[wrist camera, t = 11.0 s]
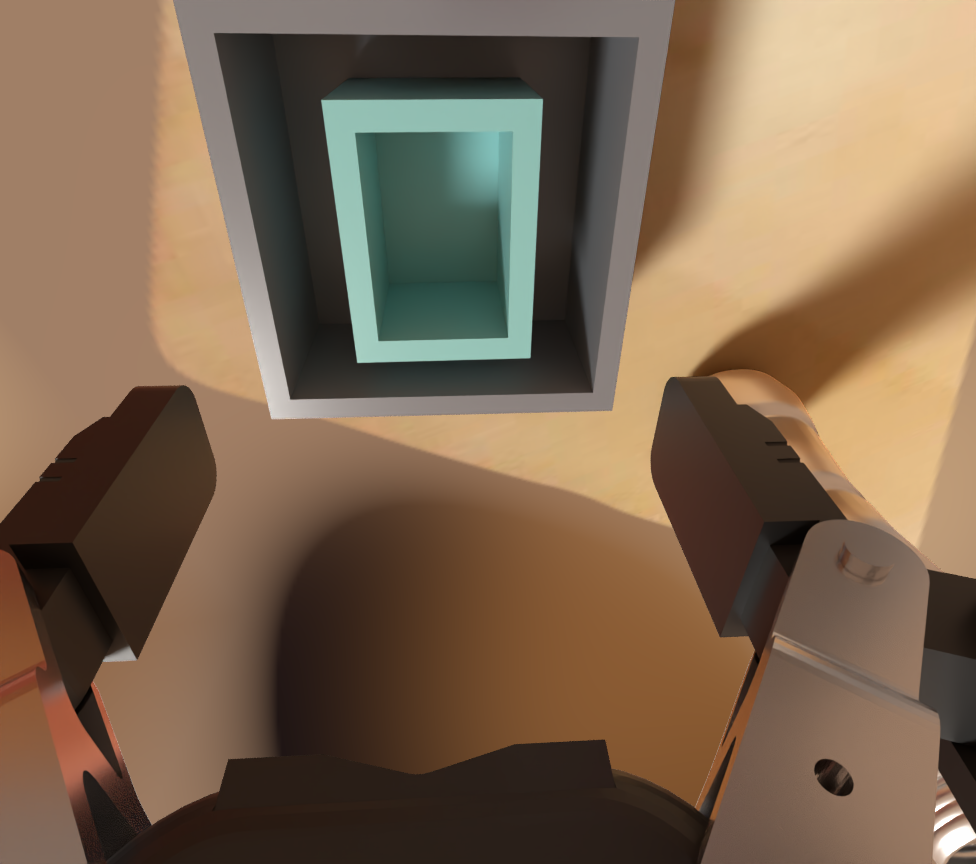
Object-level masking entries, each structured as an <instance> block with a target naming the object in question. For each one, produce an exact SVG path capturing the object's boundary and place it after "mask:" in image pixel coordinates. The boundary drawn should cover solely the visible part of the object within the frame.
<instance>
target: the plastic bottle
mask: <svg viewBox="0 0 976 864" xmlns="http://www.w3.org/2000/svg"><path fill="white" fill-rule="evenodd" d="M710 376H714V377H717V378H718V379H719V380H720V381H721V382H722V384H723V385H724V387H725V388H726V389H727V391H728V392H729V394H730V395H731V396H732V398H733V399H734V400H735V402H736V403H737V404H747V405H748V406H750V407H751V408H753V409H754V410H756V411H757V412H759V413H760V414H762V415H763V416H765V417H766V418H768V419H769V420H771V421H772V422H773V423H774V425H775V426H776V427H777V429H778V430H779V431H780V433H781V434H782V435H783V436H784V438H785V439H786V440H787V445H788V446H789V445H791V447H792V448H793V449H794V451H795V452H796V453H797V455H798V456H799V457H800V462H801V463H804V464H805V465H806V466H807V468H808V469H809V470H810V471H811V473H812V474H813V475H814V477H815V478H816V479H817V480H818V482H819V483H820V484H821V486H822V487H823V488H824V490H825V491H826V492H827V493H828V495H829V496H830V497H831V499H832V500H833V501H834V503H835V504H836V505H837V506H838V508H839V509H840V510H841V512H842V513H843V514H844V516H845V517H846V518H847V519H848V520H850V521H856V522H861V523H864V524H867V525H871V526H873V527H876V528H878V529H881V530H883V531H885V532H887V533H889V534H891V535H893V536H894V537H896V538H897V539H899V540H900V541H902V542H903V543H904V544H906V545H907V546H908V547H910V548H911V549H912V550H913V551H914V552H915V553H916V554H917V555H918V557H919V558H920V559H921V560H922V562H923V563H924V565H925V567H926V569H929V570H934V571H939V572H943V571H942V570H941V569H940V568H938V567H937V566H936V565H935V564H934V563H933V562H932V561H931V560H929V559H928V558H927V557H926V556H925V555H924V554H922V553H921V552H920V551H919V550H918V549H917V548H915V547H914V546H913V545H912V544H911V543H910V542H909V541H907V540H906V539H905V538H904V537H903V536H902V535H900V534H899V533H898V532H897V531H896V530H895V529H894V528H893V527H892V526H891V525H890V524H889V523H888V522H887V521H886V520H885V519H884V518H883V517H882V516H881V514H880V513H879V512H878V511H877V510H876V509H875V508H874V507H873V506H872V505H871V504H870V503H869V502H867V500H866V499H865V498H864V497H863V496H862V494H861V493H860V492H859V491H858V490H857V489H856V488H855V487H854V486H853V485H852V484H851V483H850V482H849V480H848V479H847V477H846V476H845V474H844V473H843V471H842V470H841V468H840V467H839V465H838V464H837V462H836V461H835V459H834V458H833V457H832V455H831V454H830V452H829V451H828V449H827V448H826V446H825V445H824V443H823V442H822V440H821V439H820V437H819V435H818V432H817V430H816V428H815V425H814V423H813V421H812V418H811V417H810V415H809V413H808V412H807V410H806V408H805V407H804V405H803V403H802V402H801V400H800V399H799V398H798V396H797V395H796V394H795V393H794V392H793V391H792V390H790V389H789V388H788V387H786V386H785V385H783V384H782V383H780V382H779V381H777V380H776V379H775V378H773V377H772V376H770V375H769V374H766V373H763V372H761V371H757V370H751V369H736V370H727V371H722V372H718V373H715V374H713V375H710ZM943 573H944V572H943ZM933 859H934V861H935V862H936V864H976V834H975V832H974V830H973V829H972V827H971V825H970V823H969V822H968V820H967V818H966V817H965V815H964V813H963V811H962V810H961V808H960V806H959V805H958V803H957V801H956V799H955V798H954V796H953V794H952V792H951V791H950V789H949V787H948V786H947V784H946V782H945V780H944V779H943V777H942V775H941V774H940V772H939V770H938V777H937V793H936V809H935V825H934V841H933Z"/></svg>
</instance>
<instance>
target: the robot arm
mask: <svg viewBox="0 0 976 864" xmlns="http://www.w3.org/2000/svg"><path fill="white" fill-rule="evenodd" d="M55 460H56V461H55V463H51V464H50V465H49V466H48V468H47V469H46V470H45V471H44V472H43V474H42V475H41V476H40V481H39V482H35V483H34V484H33V485H32V487H31V488H30V489H29V490H28V491H27V493H26V494H25V495H24V496H23V497H22V498H21V500H20V501H19V502H18V503H17V504H16V506H15V507H14V508H13V509H12V510H11V512H10V513H9V514H8V515H7V516H6V518H5V519H4V520H3V521H2V522H1V523H0V864H932V857H933V841H934V825H935V809H936V793H937V777H938V770H939V772H940V774H941V775H942V777H943V779H944V780H945V782H946V784H947V786H948V787H949V789H950V791H951V792H952V794H953V796H954V798H955V799H956V801H957V803H958V805H959V806H960V808H961V810H962V811H963V813H964V815H965V817H966V818H967V820H968V822H969V823H970V825H971V827H972V829H973V830H974V832H975V834H976V579H973V578H968V577H963V576H958V575H953V574H948V573H943V572H939V571H934V570H929V569H926V567H925V565H924V563H923V562H922V560H921V559H920V558H919V557H918V555H917V554H916V553H915V552H914V551H913V550H912V549H911V548H910V547H908V546H907V545H906V544H904V543H903V542H902V541H900V540H899V539H897V538H896V537H894V536H893V535H891V534H889V533H887V532H885V531H883V530H881V529H878V528H876V527H873V526H871V525H867V524H864V523H861V522H856V521H850V520H848V519H847V518H846V517H845V516H844V514H843V513H842V512H841V510H840V509H839V508H838V506H837V505H836V504H835V503H834V501H833V500H832V499H831V497H830V496H829V495H828V493H827V492H826V491H825V490H824V488H823V487H822V486H821V484H820V483H819V482H818V480H817V479H816V478H815V477H814V475H813V474H812V473H811V471H810V470H809V469H808V468H807V466H806V465H805V464H804V463H801V462H800V457H799V456H798V455H797V453H796V452H795V451H794V449H793V448H792V447H791V445H789V446H788V445H787V440H786V439H785V438H784V436H783V435H782V434H781V433H780V431H779V430H778V429H777V427H776V426H775V425H774V423H773V422H772V421H771V420H769V419H768V418H766V417H765V416H763V415H762V414H760V413H759V412H757V411H756V410H754V409H753V408H751V407H750V406H748V405H747V404H737V403H736V402H735V400H734V399H733V398H732V396H731V395H730V394H729V392H728V391H727V389H726V388H725V387H724V385H723V384H722V382H721V381H720V380H719V379H718V378H717V377H714V376H704V377H671V378H670V379H669V380H668V381H667V383H666V386H665V389H664V393H663V398H662V403H661V407H660V412H659V417H658V421H657V426H656V431H655V435H654V440H653V445H652V450H651V473H652V478H653V482H654V485H655V487H656V490H657V492H658V494H659V497H660V499H661V501H662V504H663V506H664V508H665V511H666V513H667V515H668V517H669V520H670V522H671V524H672V527H673V529H674V531H675V534H676V536H677V538H678V540H679V543H680V545H681V547H682V550H683V552H684V555H685V557H686V559H687V561H688V564H689V566H690V568H691V571H692V573H693V576H694V578H695V580H696V582H697V585H698V587H699V589H700V592H701V594H702V596H703V599H704V601H705V603H706V606H707V608H708V610H709V613H710V615H711V617H712V620H713V622H714V624H715V627H716V629H717V631H718V634H719V636H720V637H738V636H749V638H750V640H751V642H752V644H753V647H754V649H755V651H754V653H753V655H752V658H751V660H750V662H749V665H748V668H747V670H746V673H745V676H744V679H743V682H742V684H741V687H740V690H739V693H738V695H737V698H736V701H735V704H734V706H733V709H732V712H731V715H730V718H729V720H728V723H727V726H726V729H725V731H724V734H723V737H722V740H721V743H720V745H719V748H718V751H717V754H716V757H715V759H714V762H713V764H712V767H711V770H710V772H709V775H708V778H707V780H706V782H705V785H704V787H703V790H702V792H701V795H700V797H699V799H698V802H697V805H696V807H695V808H694V807H693V806H692V805H690V804H689V803H687V802H686V801H684V800H683V799H681V798H680V797H678V796H676V795H675V794H673V793H671V792H670V791H669V790H667V789H664V788H662V787H661V786H658V785H656V784H654V783H652V782H650V781H648V780H646V779H643V778H641V777H638V776H635V775H632V774H630V773H627V772H624V771H620V770H615V769H611V765H610V760H609V756H608V751H607V746H606V742H605V740H590V741H589V740H588V741H572V742H571V741H569V742H550V743H531V744H514V745H511V746H508V747H506V748H502V749H500V750H496V751H493V752H490V753H487V754H484V755H481V756H478V757H475V758H472V759H469V760H466V761H463V762H460V763H457V764H454V765H451V766H448V767H445V768H442V769H439V770H436V771H433V772H430V773H425V774H416V775H415V774H408V773H404V772H399V771H395V770H390V769H386V768H381V767H377V766H372V765H368V764H363V763H359V762H355V761H350V760H346V759H341V758H337V757H333V756H328V755H324V754H321V755H303V756H284V757H265V758H245V759H228V763H227V766H226V770H225V773H224V777H223V780H222V784H221V787H220V791H219V792H216V793H213V794H210V795H208V796H206V797H203V798H201V799H199V800H197V801H194V802H192V803H190V804H188V805H186V806H184V807H182V808H180V809H178V810H176V811H175V812H173V813H171V814H169V815H168V816H166V817H164V818H162V819H161V820H159V821H157V822H156V823H155V824H153V825H152V824H151V822H150V820H149V819H148V817H147V815H146V813H145V811H144V809H143V807H142V805H141V803H140V801H139V799H138V797H137V794H136V792H135V789H134V787H133V784H132V781H131V778H130V775H129V773H128V770H127V767H126V764H125V762H124V759H123V756H122V754H121V751H120V748H119V745H118V742H117V740H116V737H115V734H114V731H113V729H112V726H111V723H110V720H109V717H108V715H107V712H106V709H105V707H104V704H103V701H102V699H101V696H100V693H99V691H98V689H97V687H96V685H95V684H94V682H93V679H94V677H95V675H96V673H97V671H98V669H99V668H100V665H101V664H102V662H110V661H133V660H137V659H138V657H139V655H140V653H141V651H142V649H143V646H144V644H145V642H146V640H147V638H148V636H149V633H150V631H151V629H152V627H153V625H154V623H155V621H156V618H157V616H158V614H159V612H160V610H161V608H162V605H163V603H164V601H165V599H166V597H167V595H168V592H169V590H170V588H171V586H172V584H173V582H174V579H175V577H176V575H177V573H178V571H179V569H180V566H181V564H182V562H183V560H184V558H185V556H186V553H187V551H188V549H189V547H190V545H191V543H192V540H193V538H194V536H195V534H196V532H197V530H198V528H199V525H200V523H201V521H202V519H203V517H204V515H205V512H206V510H207V508H208V506H209V504H210V502H211V500H212V497H213V495H214V491H215V487H216V476H217V475H216V464H215V459H214V456H213V453H212V450H211V447H210V443H209V440H208V437H207V434H206V431H205V427H204V424H203V421H202V418H201V415H200V412H199V409H198V405H197V403H196V399H195V397H194V394H193V393H192V391H191V390H190V389H189V388H188V387H187V386H184V385H181V386H180V385H179V386H138V387H135V388H133V389H132V390H131V391H130V392H129V394H128V395H127V396H126V397H125V399H124V400H123V401H122V403H121V404H120V405H119V406H118V408H117V409H116V410H115V411H114V413H113V414H112V415H111V417H103V418H101V419H99V420H98V421H96V422H95V423H94V424H92V425H90V426H89V427H87V428H86V429H84V430H83V431H81V432H80V433H78V434H77V435H75V436H74V437H73V438H72V439H71V440H70V441H69V443H68V444H67V445H66V446H65V447H64V449H63V450H62V451H61V452H60V453H59V455H58V456H57V457H56V458H55Z"/></svg>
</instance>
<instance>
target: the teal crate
mask: <svg viewBox="0 0 976 864" xmlns="http://www.w3.org/2000/svg"><path fill="white" fill-rule="evenodd" d="M321 102H322V109H323V117H324V124H325V131H326V139H327V146H328V153H329V160H330V168H331V175H332V182H333V189H334V197H335V204H336V211H337V218H338V226H339V233H340V240H341V247H342V255H343V262H344V269H345V277H346V284H347V291H348V298H349V306H350V313H351V320H352V327H353V335H354V342H355V349H356V356H357V363H371V362H407V361H444V360H481V359H518V358H530V357H531V336H532V315H533V295H534V274H535V253H536V233H537V212H538V192H539V171H540V150H541V130H542V109H543V99H542V98H541V97H540V96H539V95H538V94H537V93H536V92H535V91H534V90H533V89H532V88H531V87H530V86H529V85H528V84H527V83H526V82H524V81H523V80H522V79H521V78H520V77H479V78H348V79H347V80H346V81H345V82H343V83H342V84H341V85H340V86H338V87H337V88H336V89H335V90H333V91H332V92H331V93H329V94H328V95H327V96H326V97H324V98H323V99H322V100H321Z"/></svg>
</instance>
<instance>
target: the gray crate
mask: <svg viewBox="0 0 976 864" xmlns="http://www.w3.org/2000/svg"><path fill="white" fill-rule="evenodd" d="M173 2H174V6H175V10H176V15H177V19H178V23H179V27H180V32H181V36H182V40H183V44H184V49H185V53H186V57H187V61H188V66H189V70H190V74H191V79H192V83H193V87H194V91H195V96H196V100H197V104H198V108H199V113H200V117H201V121H202V125H203V130H204V134H205V138H206V142H207V147H208V151H209V155H210V159H211V164H212V168H213V172H214V176H215V181H216V185H217V189H218V193H219V198H220V202H221V206H222V211H223V215H224V219H225V223H226V228H227V232H228V236H229V240H230V245H231V249H232V253H233V257H234V262H235V266H236V270H237V274H238V279H239V283H240V287H241V291H242V296H243V300H244V304H245V308H246V313H247V317H248V321H249V325H250V330H251V334H252V338H253V342H254V347H255V351H256V355H257V360H258V364H259V368H260V372H261V377H262V381H263V385H264V389H265V394H266V398H267V402H268V406H269V411H270V415H271V419H294V418H295V419H299V418H339V417H379V416H420V415H460V414H500V413H540V412H580V411H612V408H613V402H614V395H615V389H616V382H617V376H618V369H619V363H620V356H621V350H622V343H623V337H624V330H625V324H626V317H627V311H628V304H629V298H630V291H631V285H632V278H633V272H634V265H635V259H636V252H637V246H638V239H639V233H640V226H641V220H642V213H643V207H644V200H645V194H646V187H647V181H648V174H649V168H650V161H651V155H652V148H653V142H654V135H655V129H656V122H657V116H658V109H659V103H660V96H661V90H662V83H663V77H664V70H665V64H666V57H667V51H668V44H669V38H670V31H671V25H672V18H673V12H674V5H675V0H173ZM479 77H520V78H521V79H522V80H523V81H524V82H526V83H527V84H528V85H529V86H530V87H531V88H532V89H533V90H534V91H535V92H536V93H537V94H538V95H539V96H540V97H541V98H542V99H543V109H542V130H541V150H540V171H539V192H538V212H537V233H536V253H535V274H534V295H533V315H532V336H531V357H530V358H518V359H481V360H444V361H407V362H371V363H357V356H356V349H355V342H354V335H353V327H352V320H351V313H350V306H349V298H348V291H347V284H346V277H345V269H344V262H343V255H342V247H341V240H340V233H339V226H338V218H337V211H336V204H335V197H334V189H333V182H332V175H331V168H330V160H329V153H328V146H327V139H326V131H325V124H324V117H323V109H322V102H321V100H322V99H323V98H324V97H326V96H327V95H328V94H329V93H331V92H332V91H333V90H335V89H336V88H337V87H338V86H340V85H341V84H342V83H343V82H345V81H346V80H347V79H348V78H479Z"/></svg>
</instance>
